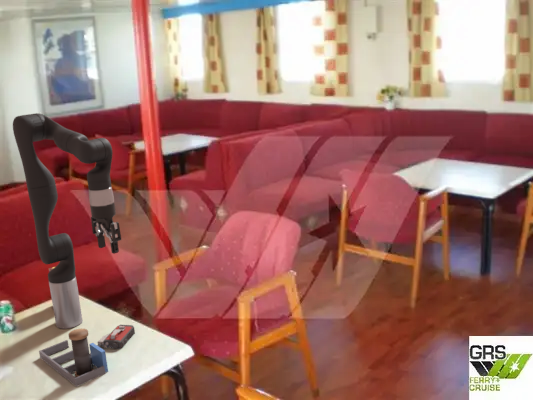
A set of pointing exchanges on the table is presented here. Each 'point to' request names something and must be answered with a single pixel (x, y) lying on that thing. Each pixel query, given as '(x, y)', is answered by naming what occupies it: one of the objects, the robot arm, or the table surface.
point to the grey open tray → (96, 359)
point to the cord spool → (80, 351)
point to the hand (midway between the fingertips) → (108, 250)
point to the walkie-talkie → (117, 337)
